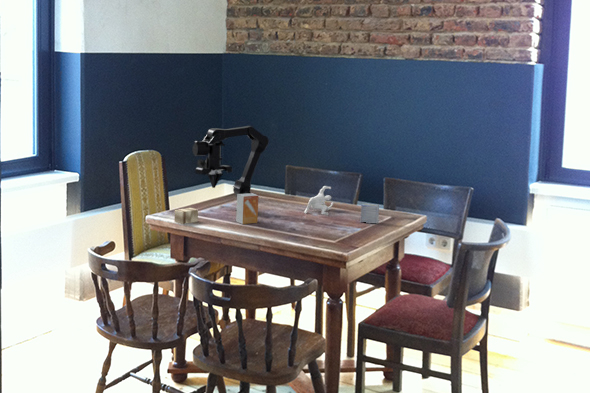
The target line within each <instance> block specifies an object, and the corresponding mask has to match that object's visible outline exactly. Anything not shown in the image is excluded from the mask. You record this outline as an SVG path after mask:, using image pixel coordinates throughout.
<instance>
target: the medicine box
mask: <svg viewBox="0 0 590 393" xmlns="http://www.w3.org/2000/svg"><path fill="white" fill-rule="evenodd" d="M379 215H380V204H372V203H362V204H361V206H360V220H359V222H360V223H361V222H366V223H365V224H370V223H377V224H378V223H379V217H380V216H379Z"/></svg>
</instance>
